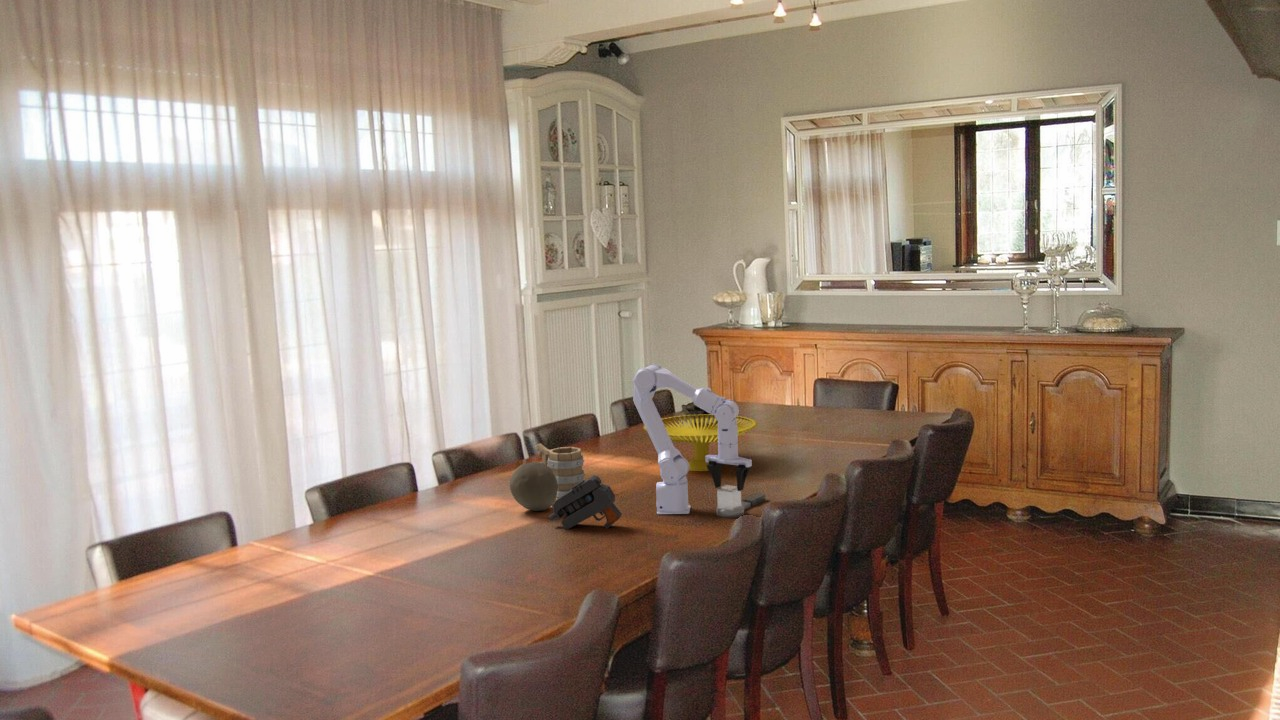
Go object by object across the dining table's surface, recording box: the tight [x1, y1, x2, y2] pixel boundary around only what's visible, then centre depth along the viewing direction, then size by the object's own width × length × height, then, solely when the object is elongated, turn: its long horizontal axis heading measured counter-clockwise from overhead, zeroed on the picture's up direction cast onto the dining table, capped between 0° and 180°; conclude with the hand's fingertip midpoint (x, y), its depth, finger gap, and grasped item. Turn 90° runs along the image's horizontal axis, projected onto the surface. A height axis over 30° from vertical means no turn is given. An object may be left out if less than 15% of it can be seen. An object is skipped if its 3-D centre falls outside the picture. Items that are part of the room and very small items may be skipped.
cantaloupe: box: [509, 461, 558, 512], centre depth 312 cm, size 14×14×15 cm
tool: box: [548, 474, 623, 530], centre depth 294 cm, size 6×19×15 cm, turn 78°
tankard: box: [534, 442, 586, 499], centre depth 336 cm, size 20×13×15 cm, turn 47°
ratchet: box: [715, 492, 766, 519], centre depth 306 cm, size 22×8×5 cm, turn 144°
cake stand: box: [643, 414, 758, 472], centre depth 361 cm, size 40×40×15 cm
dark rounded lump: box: [677, 401, 718, 428], centre depth 425 cm, size 28×13×15 cm
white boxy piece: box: [716, 484, 742, 511], centre depth 300 cm, size 5×5×6 cm
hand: (729, 488), depth 300 cm, fingers open, 7 cm apart
